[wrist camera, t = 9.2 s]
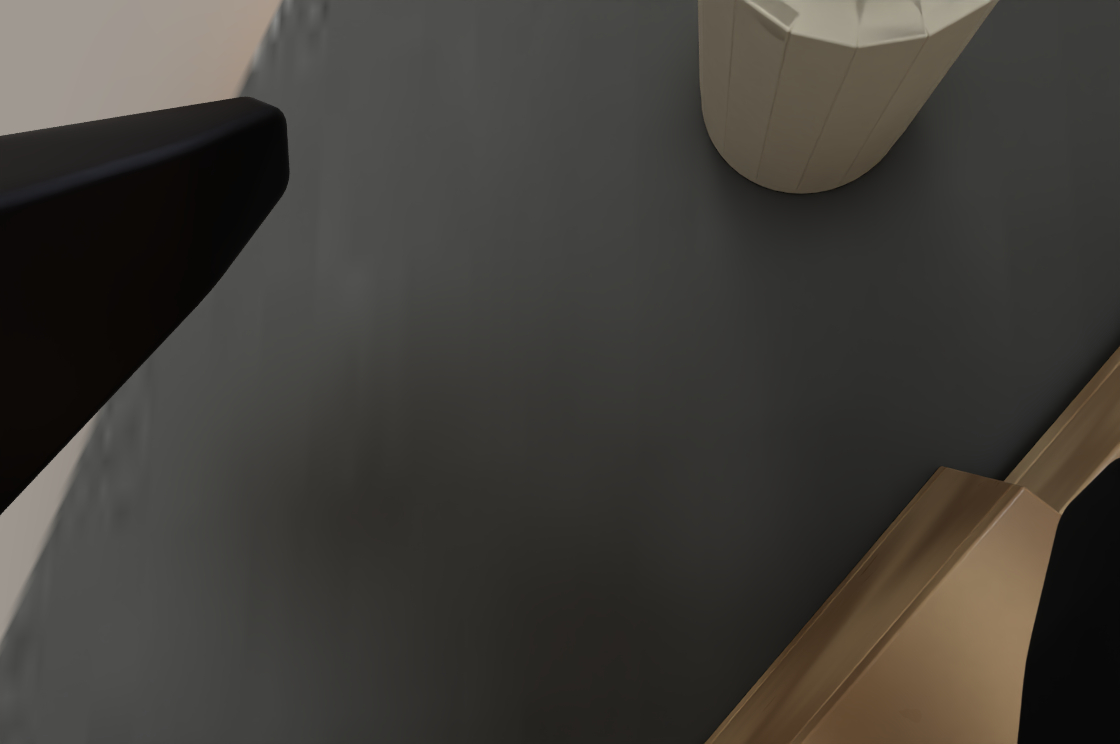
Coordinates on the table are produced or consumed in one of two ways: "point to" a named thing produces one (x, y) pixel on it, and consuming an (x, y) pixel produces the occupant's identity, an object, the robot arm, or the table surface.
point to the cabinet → (916, 629)
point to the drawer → (1076, 442)
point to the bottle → (822, 81)
